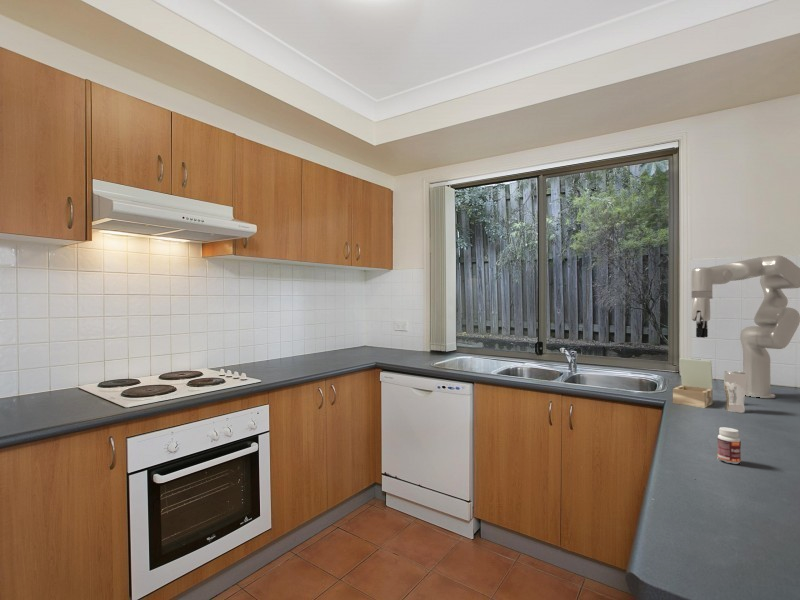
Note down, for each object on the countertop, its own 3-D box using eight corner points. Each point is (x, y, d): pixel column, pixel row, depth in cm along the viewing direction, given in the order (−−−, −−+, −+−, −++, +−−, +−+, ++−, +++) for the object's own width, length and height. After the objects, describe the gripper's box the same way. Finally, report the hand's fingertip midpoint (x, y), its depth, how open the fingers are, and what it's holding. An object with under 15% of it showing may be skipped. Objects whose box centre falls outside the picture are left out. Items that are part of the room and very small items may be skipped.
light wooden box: (681, 399, 183) (681, 385, 183) (712, 403, 174) (712, 389, 175) (672, 403, 175) (672, 388, 175) (704, 408, 167) (704, 392, 167)
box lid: (681, 384, 183) (683, 383, 184) (712, 388, 175) (713, 387, 176) (679, 358, 181) (680, 357, 182) (710, 361, 173) (711, 360, 174)
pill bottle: (735, 466, 106) (734, 433, 106) (713, 460, 110) (713, 428, 110) (744, 463, 108) (744, 430, 108) (723, 457, 112) (723, 425, 112)
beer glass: (726, 411, 161) (725, 372, 161) (722, 408, 167) (721, 370, 167) (749, 414, 157) (748, 374, 158) (744, 410, 164) (744, 371, 164)
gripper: (697, 296, 193) (697, 335, 192) (686, 295, 182) (686, 337, 182) (717, 295, 187) (717, 336, 187) (707, 295, 176) (707, 338, 176)
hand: (701, 336), depth 184 cm, fingers open, 3 cm apart
